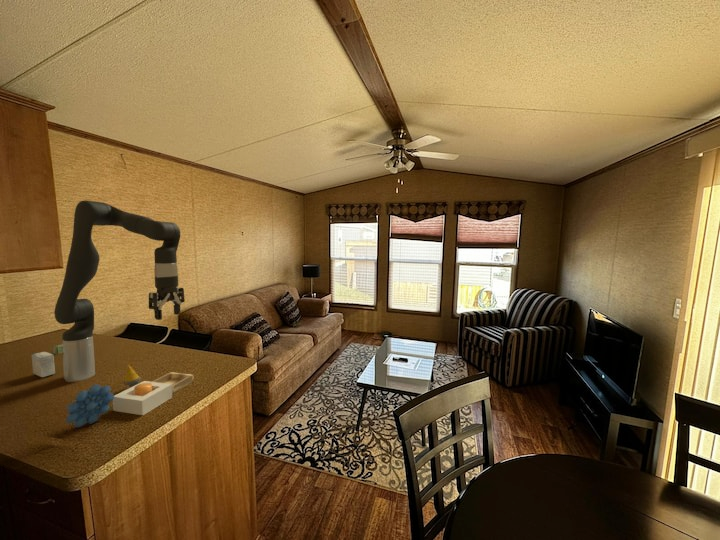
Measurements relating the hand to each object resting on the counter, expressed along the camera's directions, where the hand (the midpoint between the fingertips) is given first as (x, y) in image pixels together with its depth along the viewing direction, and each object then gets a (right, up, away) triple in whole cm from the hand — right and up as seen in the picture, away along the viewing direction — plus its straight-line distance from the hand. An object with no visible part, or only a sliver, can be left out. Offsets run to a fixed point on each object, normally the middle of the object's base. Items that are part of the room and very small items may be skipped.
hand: (168, 316), depth 116 cm
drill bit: (-14, -28, +1) cm, 32 cm away
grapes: (-11, -30, -20) cm, 38 cm away
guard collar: (-3, -29, -9) cm, 31 cm away
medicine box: (-61, -27, +13) cm, 68 cm away
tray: (-1, -28, +4) cm, 28 cm away
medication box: (-77, -24, +41) cm, 91 cm away
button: (-3, -27, -9) cm, 29 cm away
